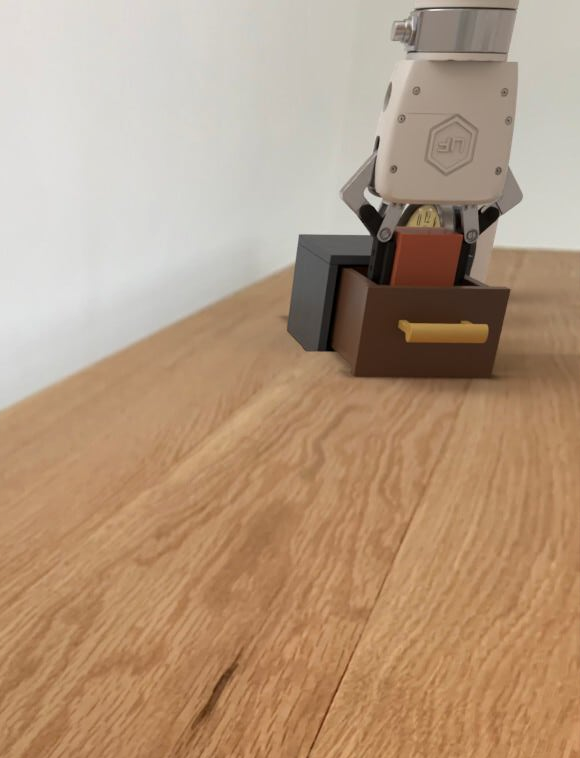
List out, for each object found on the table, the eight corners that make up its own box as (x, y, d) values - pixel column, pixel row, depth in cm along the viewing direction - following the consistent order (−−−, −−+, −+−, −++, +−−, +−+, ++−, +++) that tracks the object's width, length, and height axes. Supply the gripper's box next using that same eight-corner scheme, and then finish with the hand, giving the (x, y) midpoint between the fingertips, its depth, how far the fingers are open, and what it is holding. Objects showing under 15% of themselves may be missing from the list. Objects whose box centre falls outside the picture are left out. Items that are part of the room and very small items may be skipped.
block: (432, 289, 97) (444, 227, 94) (450, 300, 92) (463, 234, 90) (375, 288, 97) (385, 226, 94) (390, 299, 92) (402, 233, 90)
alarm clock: (376, 308, 125) (403, 146, 117) (420, 307, 126) (450, 146, 118) (423, 327, 116) (456, 153, 107) (470, 326, 117) (506, 153, 108)
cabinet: (452, 363, 102) (473, 256, 97) (315, 361, 102) (330, 254, 97) (408, 331, 114) (426, 235, 109) (286, 330, 114) (298, 234, 109)
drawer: (508, 395, 88) (531, 298, 85) (366, 393, 88) (382, 296, 85) (441, 348, 103) (458, 264, 99) (319, 347, 103) (331, 262, 99)
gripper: (360, 36, 82) (322, 297, 91) (591, 40, 82) (529, 301, 91) (337, 38, 88) (303, 282, 98) (551, 42, 88) (497, 285, 98)
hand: (413, 289), depth 94 cm, fingers closed on block, 5 cm apart
